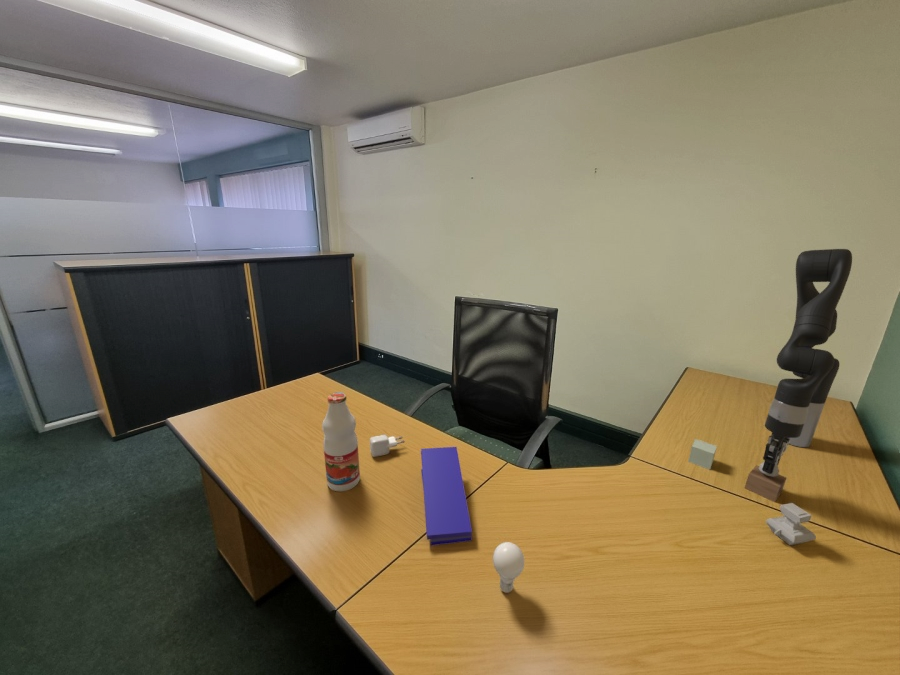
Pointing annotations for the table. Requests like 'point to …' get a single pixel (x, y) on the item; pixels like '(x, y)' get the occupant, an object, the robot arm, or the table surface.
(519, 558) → the lightbulb
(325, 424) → the fruit juice
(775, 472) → the rook chess piece
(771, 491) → the walnut block
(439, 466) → the purple rectangular block
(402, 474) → the table surface
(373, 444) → the power adapter
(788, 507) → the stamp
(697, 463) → the sage block
